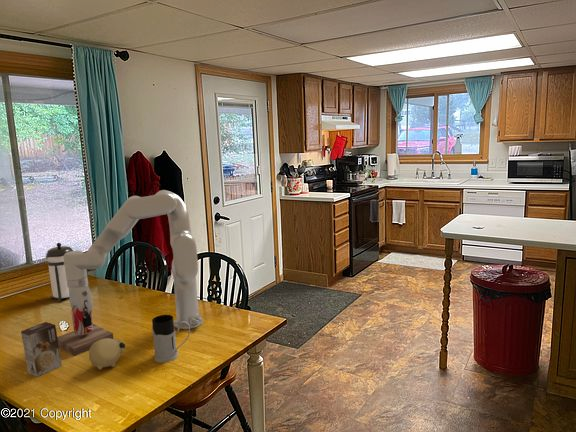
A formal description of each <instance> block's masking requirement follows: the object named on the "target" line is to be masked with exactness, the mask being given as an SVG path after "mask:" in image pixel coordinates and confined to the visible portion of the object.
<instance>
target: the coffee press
mask: <svg viewBox="0 0 576 432" xmlns="http://www.w3.org/2000/svg"><path fill="white" fill-rule="evenodd" d="M70 251H74V250H73V248H72V247H70V246H64V245H63V246H62V243H61V242H57V243H56V247H52V248H50V249H48V250H47V252H46V254H45V257H44V262H47V265H48V272H49V279H50V285H51V287H50V288H51V292H52V294H51V296H50V298H51V299H57V302H58V303H62V302H63V299H65V298H69V288H68V287H67V280H66V273H65V266H64V259H63V256H64V254H65V253H67V252H70ZM86 270H87V278H89V274H88V273H89V271H88V269H86Z"/></svg>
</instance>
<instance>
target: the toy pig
mask: <svg viewBox="0 0 576 432" xmlns="http://www.w3.org/2000/svg"><path fill="white" fill-rule="evenodd" d="M125 349H126V344H125V343H124V341H122V340H121V339H117V338H114V339H111V338H105V339H101V340H98V341H96V342H95V343H94V344H93V345H92V346H91V347H90V350H88V359H89V361H90V363H91V365H92V366H95V367H96V368H97V369H98V370H102V369H103V368H108V367H111V368H115V366H116V362H118V360H119V358H120V356H121V355H122V354H123V353H124V351H125Z"/></svg>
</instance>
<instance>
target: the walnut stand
mask: <svg viewBox="0 0 576 432" xmlns="http://www.w3.org/2000/svg"><path fill="white" fill-rule="evenodd" d="M57 338H58V345H59V348H61V349H63V351H66V352H67V353H69V354H70V355H72V356H74V357H75V356H77V355H80V354H82V353H85V352H89V350H90V347H91V346H92V345H93V344H94V343H95V342H96V341H98V340H101V339H105V338H111V339H115V338H114V333H113V332H111V330H110V331H109V330H107V329H105V328H104V327H101V326H99V325H97V324H95V323H93V330H92V331H91V332H90V333H88V334H85V335H78V334H75V332H74V330H72V331H70V332H67V333H64V334H61V335H59V336H57Z"/></svg>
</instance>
